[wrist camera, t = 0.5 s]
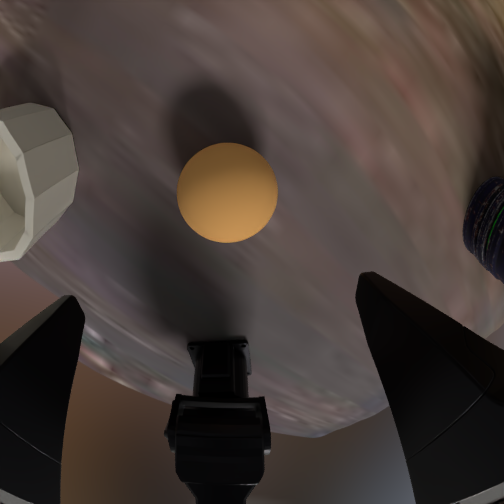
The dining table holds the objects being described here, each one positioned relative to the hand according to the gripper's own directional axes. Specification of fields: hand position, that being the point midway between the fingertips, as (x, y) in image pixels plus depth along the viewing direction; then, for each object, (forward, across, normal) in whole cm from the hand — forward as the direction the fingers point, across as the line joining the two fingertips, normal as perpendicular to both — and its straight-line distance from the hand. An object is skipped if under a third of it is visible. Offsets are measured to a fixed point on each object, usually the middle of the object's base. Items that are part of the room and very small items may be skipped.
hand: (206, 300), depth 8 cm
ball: (+10, 0, 0) cm, 10 cm away
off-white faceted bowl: (+13, +17, -4) cm, 21 cm away
